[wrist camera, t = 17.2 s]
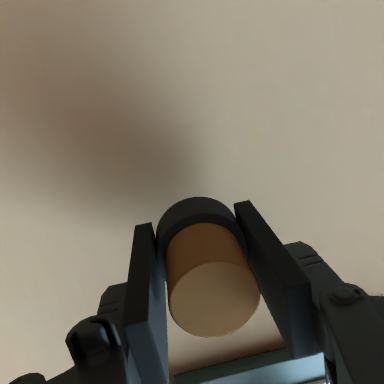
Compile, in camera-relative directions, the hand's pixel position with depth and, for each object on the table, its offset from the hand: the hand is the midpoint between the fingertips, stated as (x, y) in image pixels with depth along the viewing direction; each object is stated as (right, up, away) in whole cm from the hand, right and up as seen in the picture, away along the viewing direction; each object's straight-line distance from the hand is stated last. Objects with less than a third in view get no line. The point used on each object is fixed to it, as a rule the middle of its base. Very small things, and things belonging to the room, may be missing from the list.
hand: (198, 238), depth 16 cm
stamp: (0, 0, 0) cm, 0 cm away
